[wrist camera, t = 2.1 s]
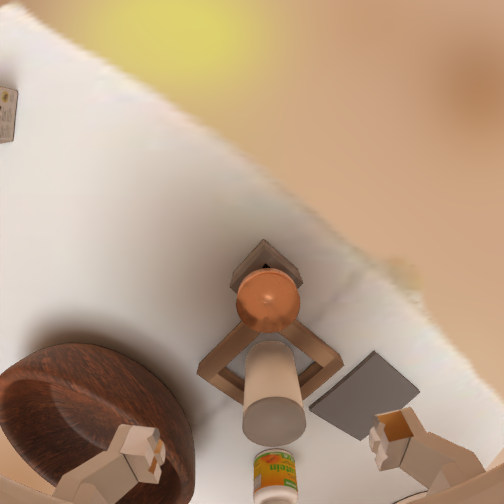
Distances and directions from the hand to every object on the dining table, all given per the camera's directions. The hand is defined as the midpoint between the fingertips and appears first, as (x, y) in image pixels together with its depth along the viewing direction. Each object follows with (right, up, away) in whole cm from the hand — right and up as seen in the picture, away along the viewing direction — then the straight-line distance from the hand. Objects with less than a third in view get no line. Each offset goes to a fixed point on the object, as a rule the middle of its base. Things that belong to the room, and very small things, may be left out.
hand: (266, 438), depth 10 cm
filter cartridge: (+1, -4, +22) cm, 22 cm away
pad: (+13, -11, +23) cm, 29 cm away
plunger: (+1, +4, +17) cm, 17 cm away
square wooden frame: (+1, -2, +21) cm, 21 cm away
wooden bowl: (-19, -13, +25) cm, 33 cm away
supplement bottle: (+2, -21, +26) cm, 33 cm away
